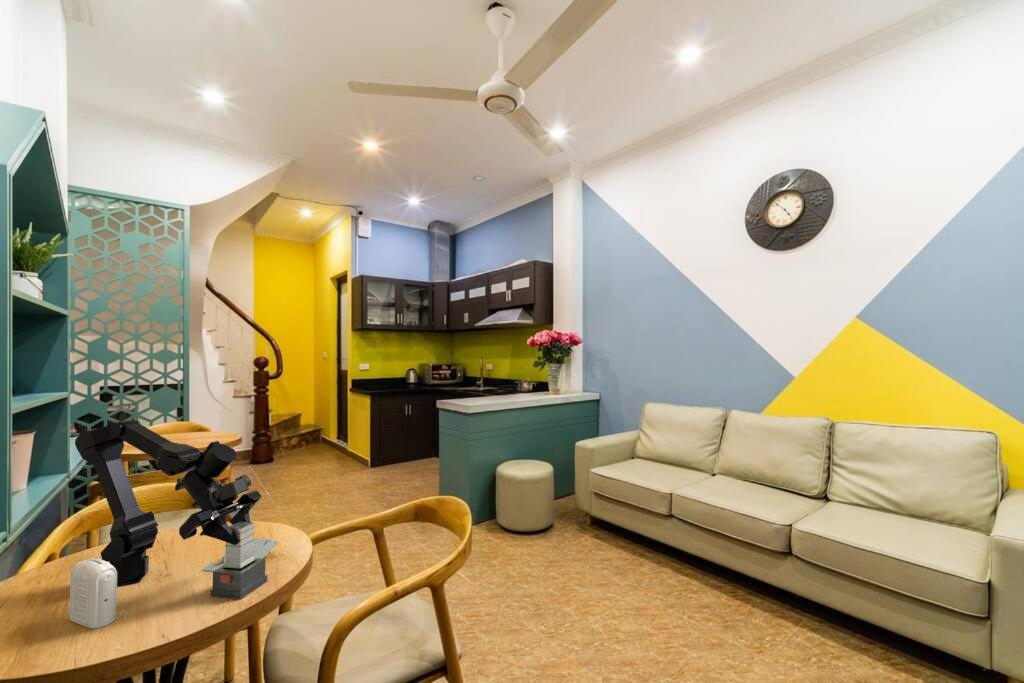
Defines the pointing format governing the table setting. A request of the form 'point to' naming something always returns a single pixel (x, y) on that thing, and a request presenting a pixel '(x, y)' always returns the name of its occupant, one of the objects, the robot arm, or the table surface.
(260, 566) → the collar
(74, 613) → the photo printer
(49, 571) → the table surface
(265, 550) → the metal bracket
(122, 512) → the robot arm
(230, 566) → the column
